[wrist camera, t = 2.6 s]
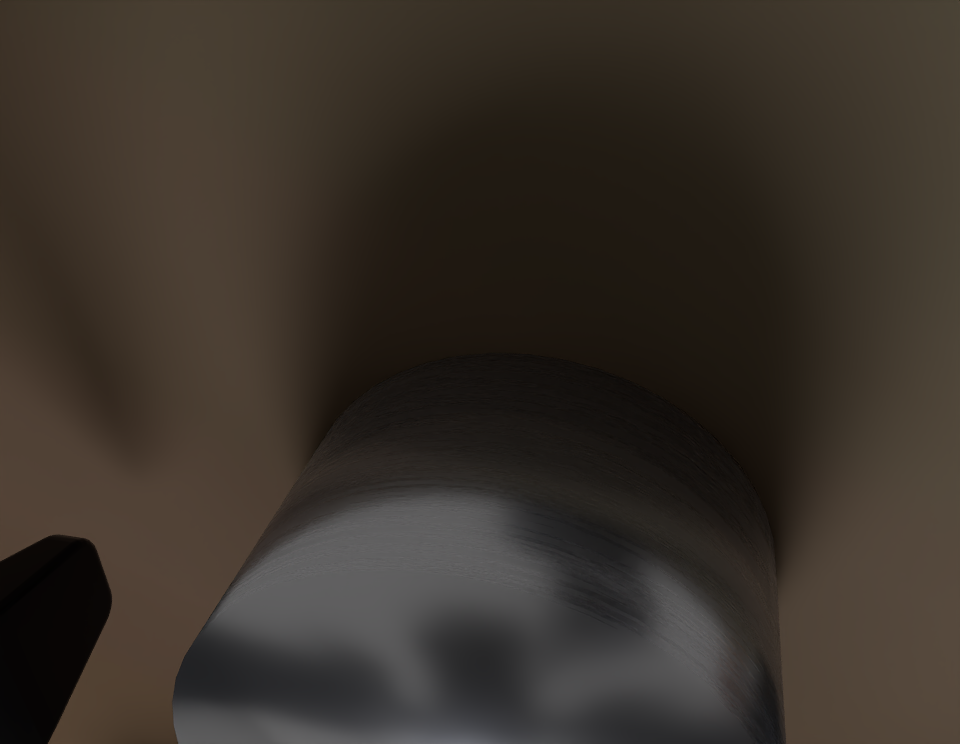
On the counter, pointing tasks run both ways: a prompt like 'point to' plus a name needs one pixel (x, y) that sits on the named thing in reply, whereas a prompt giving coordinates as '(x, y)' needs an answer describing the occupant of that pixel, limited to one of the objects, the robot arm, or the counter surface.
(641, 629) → the steel cup
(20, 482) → the counter surface
